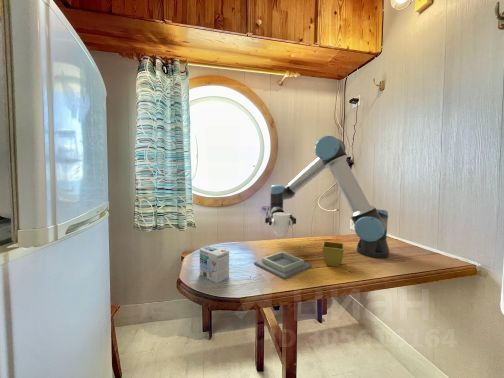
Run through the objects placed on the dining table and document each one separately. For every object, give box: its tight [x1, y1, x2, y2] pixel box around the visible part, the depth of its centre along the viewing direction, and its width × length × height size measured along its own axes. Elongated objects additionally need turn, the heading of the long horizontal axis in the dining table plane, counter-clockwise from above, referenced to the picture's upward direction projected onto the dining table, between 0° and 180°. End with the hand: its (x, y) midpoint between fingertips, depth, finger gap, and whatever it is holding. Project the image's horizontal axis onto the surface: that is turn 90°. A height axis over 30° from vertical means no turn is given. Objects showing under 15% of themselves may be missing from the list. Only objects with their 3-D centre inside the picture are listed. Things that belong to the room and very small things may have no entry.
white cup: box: [272, 212, 291, 238], centre depth 107 cm, size 8×8×10 cm
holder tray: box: [253, 251, 313, 280], centre depth 101 cm, size 18×18×3 cm
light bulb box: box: [199, 245, 230, 284], centre depth 89 cm, size 11×7×11 cm, turn 51°
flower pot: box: [322, 240, 345, 268], centre depth 102 cm, size 9×9×9 cm
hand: (282, 224), depth 102 cm, fingers closed on white cup, 8 cm apart
